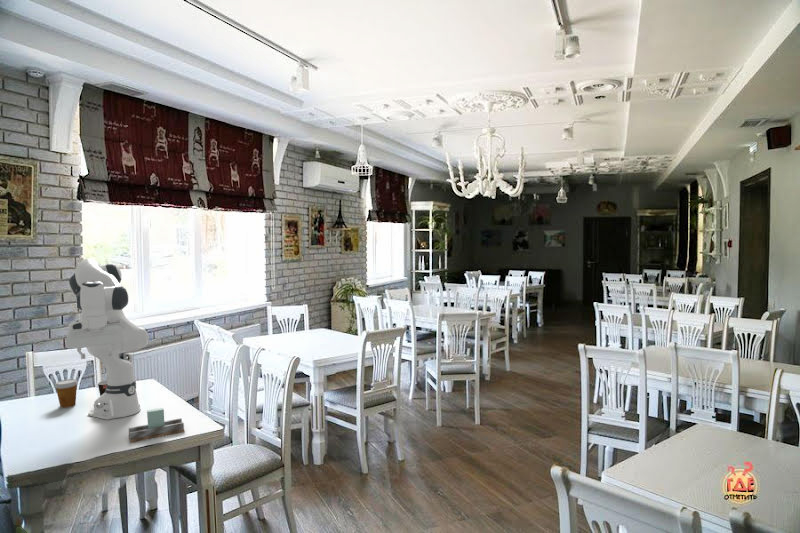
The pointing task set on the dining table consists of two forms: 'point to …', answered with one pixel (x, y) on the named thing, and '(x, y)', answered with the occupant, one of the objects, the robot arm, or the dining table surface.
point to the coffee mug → (101, 384)
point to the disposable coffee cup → (66, 392)
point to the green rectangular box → (155, 418)
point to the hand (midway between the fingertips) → (97, 356)
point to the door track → (156, 430)
